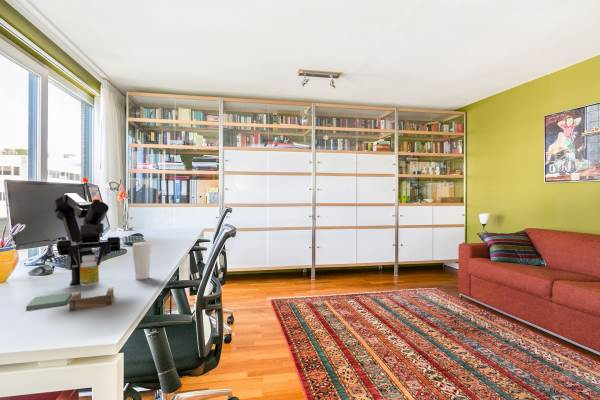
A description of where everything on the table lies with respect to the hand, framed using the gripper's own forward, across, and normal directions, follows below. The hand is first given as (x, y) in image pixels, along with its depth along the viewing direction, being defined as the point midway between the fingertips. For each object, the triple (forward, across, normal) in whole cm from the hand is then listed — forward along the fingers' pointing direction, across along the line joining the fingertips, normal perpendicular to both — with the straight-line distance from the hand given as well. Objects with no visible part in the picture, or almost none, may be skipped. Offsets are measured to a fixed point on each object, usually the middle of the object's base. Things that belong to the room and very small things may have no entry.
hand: (88, 265), depth 109 cm
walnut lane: (+13, +2, +3) cm, 13 cm away
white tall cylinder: (-5, +17, +22) cm, 28 cm away
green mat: (+7, -11, +9) cm, 16 cm away
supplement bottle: (+4, 0, +6) cm, 7 cm away
